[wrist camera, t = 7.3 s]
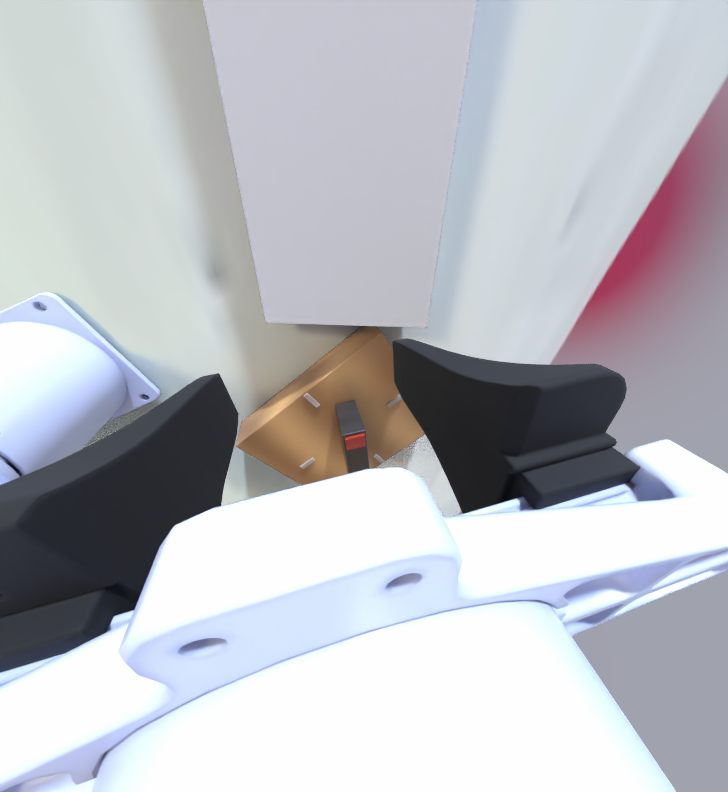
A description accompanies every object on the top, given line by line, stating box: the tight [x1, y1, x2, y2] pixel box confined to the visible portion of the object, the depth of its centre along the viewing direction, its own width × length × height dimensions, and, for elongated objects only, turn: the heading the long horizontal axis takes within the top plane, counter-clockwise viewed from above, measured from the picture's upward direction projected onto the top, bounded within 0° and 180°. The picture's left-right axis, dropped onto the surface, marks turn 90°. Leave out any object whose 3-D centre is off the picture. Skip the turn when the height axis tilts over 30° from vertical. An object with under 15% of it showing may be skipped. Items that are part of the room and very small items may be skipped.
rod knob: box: [335, 401, 370, 474], centre depth 20 cm, size 6×2×4 cm, turn 5°
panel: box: [236, 326, 425, 485], centre depth 23 cm, size 14×11×3 cm
